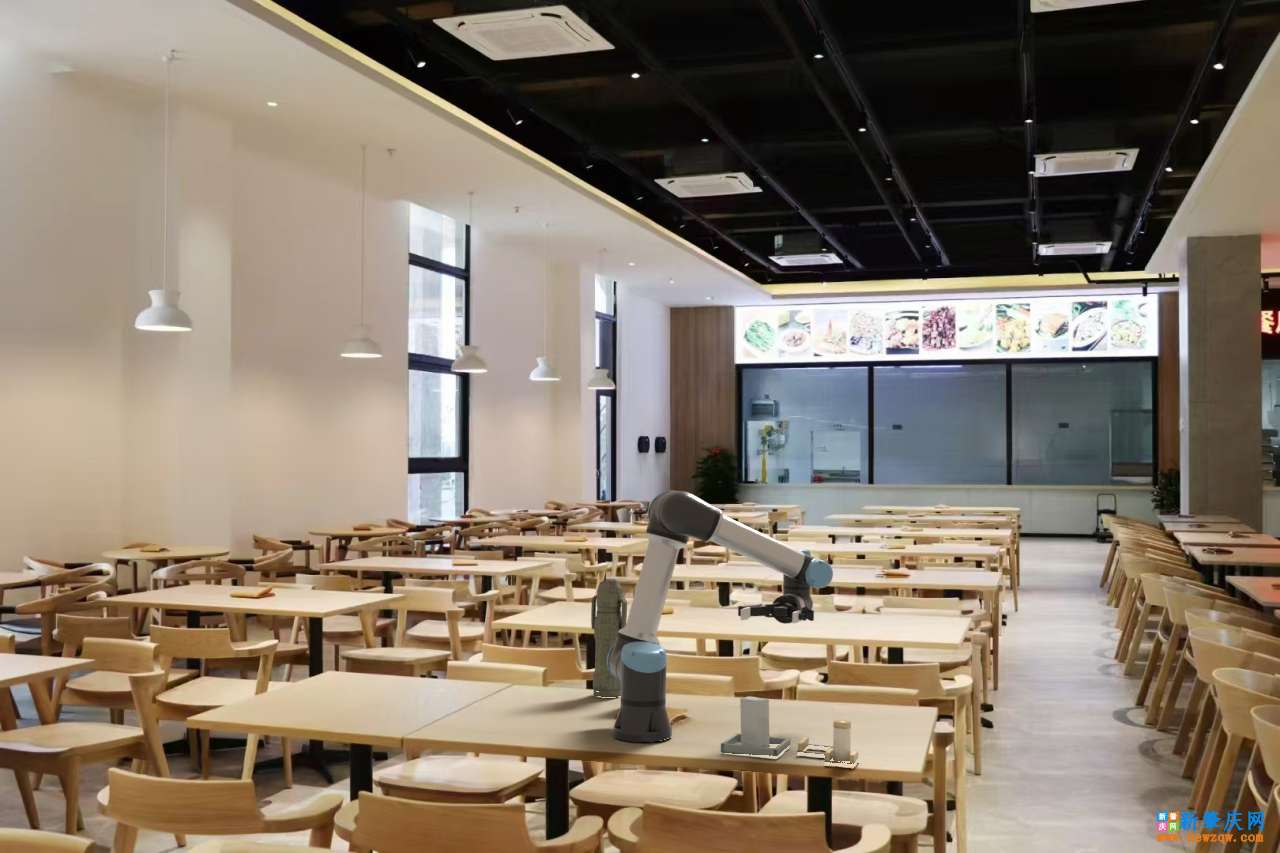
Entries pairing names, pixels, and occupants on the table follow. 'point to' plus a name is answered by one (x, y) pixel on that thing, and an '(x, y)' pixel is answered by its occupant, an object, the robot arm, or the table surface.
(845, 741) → the fuse
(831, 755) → the cream flat frame
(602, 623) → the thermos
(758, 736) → the skincare box
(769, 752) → the tray
